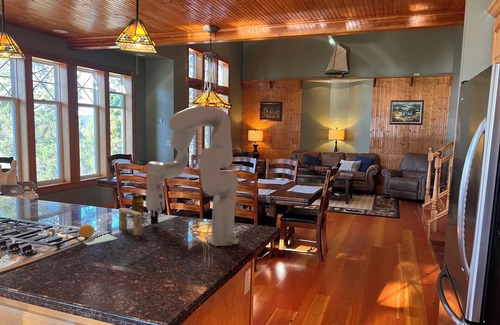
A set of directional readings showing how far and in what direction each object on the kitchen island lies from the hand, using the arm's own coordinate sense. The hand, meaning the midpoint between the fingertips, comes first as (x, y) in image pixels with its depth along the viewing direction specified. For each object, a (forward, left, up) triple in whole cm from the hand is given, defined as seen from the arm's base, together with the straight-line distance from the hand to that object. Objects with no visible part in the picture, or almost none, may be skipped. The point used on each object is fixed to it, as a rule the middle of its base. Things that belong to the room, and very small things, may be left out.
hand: (154, 223), depth 175 cm
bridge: (0, +13, -2) cm, 13 cm away
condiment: (+22, -3, -2) cm, 22 cm away
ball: (+3, +32, +2) cm, 32 cm away
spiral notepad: (0, +29, -2) cm, 29 cm away
